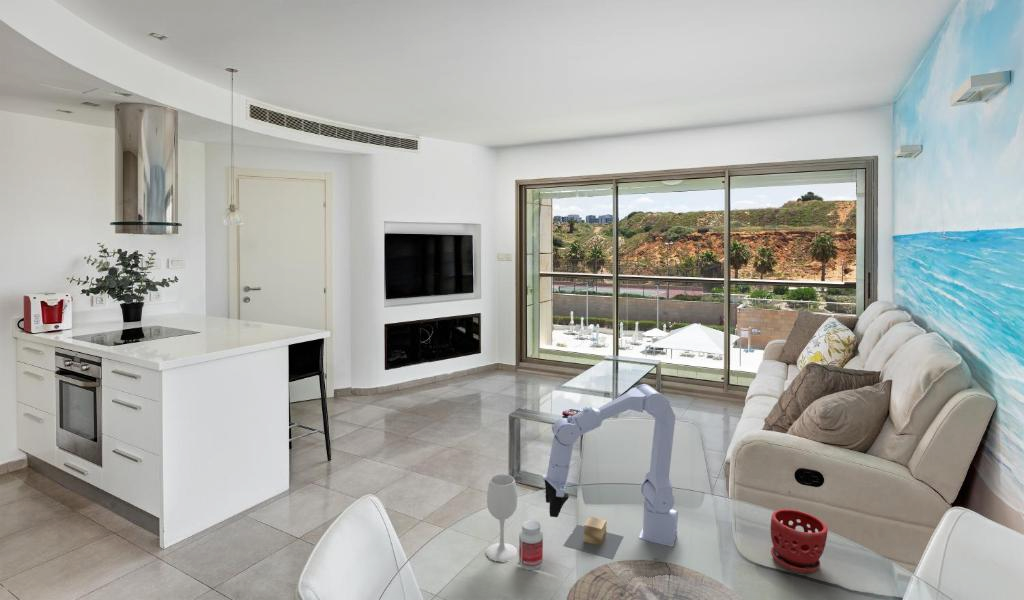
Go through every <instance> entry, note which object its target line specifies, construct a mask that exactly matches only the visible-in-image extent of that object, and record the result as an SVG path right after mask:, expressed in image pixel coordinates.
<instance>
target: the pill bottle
mask: <svg viewBox="0 0 1024 600" xmlns="http://www.w3.org/2000/svg"><path fill="white" fill-rule="evenodd" d="M521 527H522V528H521V531H520V533H519V538H518V539H519V540H518V544H519V546H518V561H519V562H518V563H519V566H520V567H521V568H523V569H524V570H526V571H535V570H538V569H540V568H541V567H542V565H543V561H544V560H543V558H544V557H543V553H544V552H543V551H544V549H543V548H544V547H543V545H544V543H543V541H544V536H543V533H542V532H541V523H540V522H539V521H537V520H534V519H533V520H532V519H531V520H529V519H527V520H525V521H523V523H522V525H521Z"/></svg>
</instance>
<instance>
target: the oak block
mask: <svg viewBox="0 0 1024 600" xmlns="http://www.w3.org/2000/svg"><path fill="white" fill-rule="evenodd" d="M607 522H608V521H607V520H606V519H603V518H597V517H594V516H589V517H588V518H587V520H586V521H585V523H584V524H583V526H584V542H588V543H591V544H595V545H599V546H601V545H602V543H603V542H604V540H605V538H606V532H607Z"/></svg>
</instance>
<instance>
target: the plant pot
mask: <svg viewBox="0 0 1024 600" xmlns="http://www.w3.org/2000/svg"><path fill="white" fill-rule="evenodd" d="M797 520H799V522H798V521H797ZM781 521H782V522H781ZM790 521H791V522H792V524H790ZM808 526H809V527H808ZM797 527H801V528H802V529H803V531H801V530H797ZM816 530H817V532H816ZM809 531H810V532H809ZM828 531H829V529H828V526H827V525H826V524H825V523H824V522H823V520H821V519H819V518H818V517H816V516H814V515H812V514H809V513H807V512H803V511H800V510H795V509H789V508H786V509H785V508H783V509H777V510H774V511H773V512H772V514H771V519H770V538H771V543H772V545H773V546H772V547H771V550H770V553H771V556H772V558H773V559H774V560H775V562H776V563H778V564H779V565H781V566H782V567H784V568H785V569H787V570H788V571H793V572H797V573H800V574H801V573H803V574H809V573H813V572H816V571H818V569H819V568H820V567H821V561H820V558H821V557H822V556H823V555H822V554H823V553H824V552H825V551H824V550H825V547H826V542H827V538H828Z"/></svg>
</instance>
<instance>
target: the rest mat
mask: <svg viewBox="0 0 1024 600" xmlns="http://www.w3.org/2000/svg"><path fill="white" fill-rule="evenodd" d="M572 532H573V533H572ZM572 532H571V533H572V534H571V533H570V535H569V536H568V538H567V540H566V541H564V544H563V545H562V547H565V548H570V549H573V550H576V551H580V552H585V553H589V554H592V555H596V556H600V557H602V558H605V559H610V560H613V559H614V557H616V556H615V555H616V553H617V551H618V549H619V547H620V545H621V544H622V541H623V540H624V538H625V537H624V535H619V534H616V533H611V532H607V531H606V538H605V540H604V542H603V543H602V545H601V546H599V545H595V544H591V543H588V542H584V525H581V524H580V525H579V524H576V526H575V527H574V528H573V530H572Z"/></svg>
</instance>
